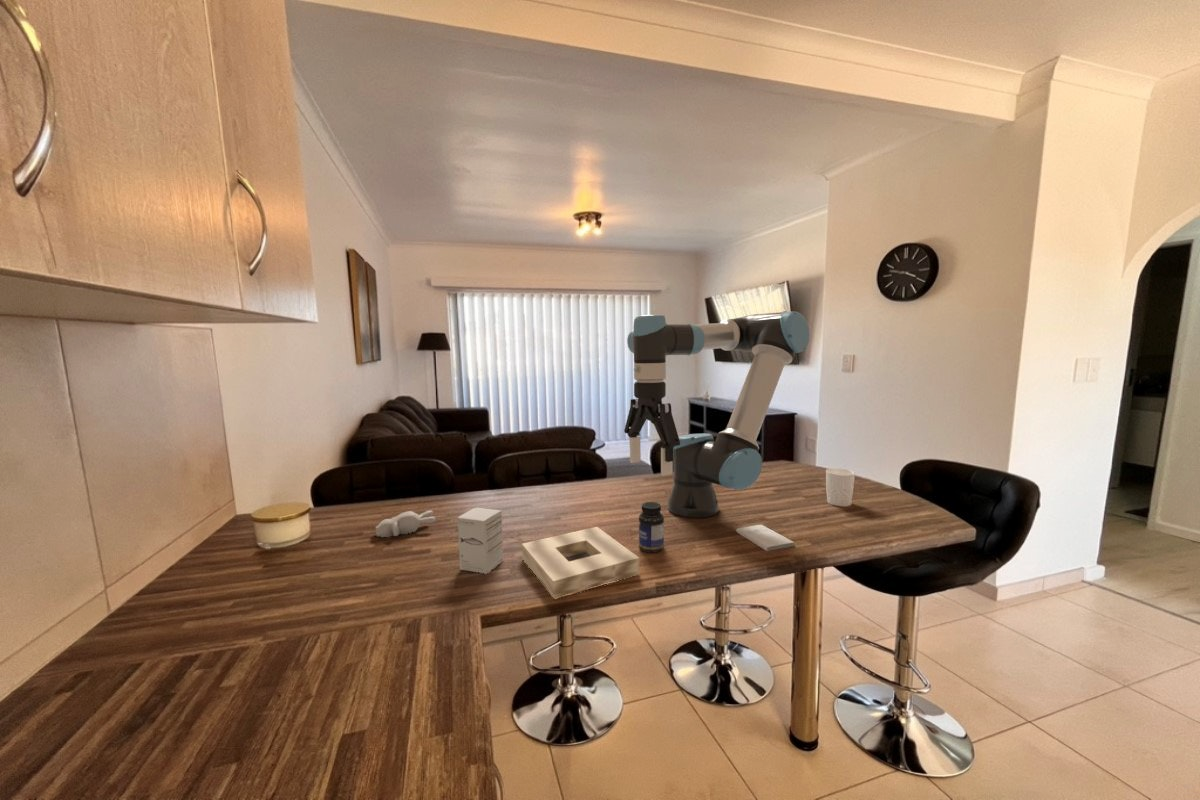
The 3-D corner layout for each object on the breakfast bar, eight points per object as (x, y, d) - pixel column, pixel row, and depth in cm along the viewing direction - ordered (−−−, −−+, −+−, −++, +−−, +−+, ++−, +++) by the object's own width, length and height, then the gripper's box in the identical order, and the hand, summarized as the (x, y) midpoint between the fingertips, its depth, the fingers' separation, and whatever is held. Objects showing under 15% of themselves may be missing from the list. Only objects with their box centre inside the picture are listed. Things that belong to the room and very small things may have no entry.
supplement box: (459, 570, 103) (455, 517, 101) (478, 556, 110) (475, 506, 108) (486, 575, 100) (483, 520, 99) (504, 560, 107) (502, 509, 106)
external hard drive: (766, 553, 109) (736, 533, 121) (794, 548, 112) (761, 529, 124) (766, 547, 109) (736, 528, 121) (794, 541, 112) (762, 523, 123)
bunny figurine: (374, 517, 126) (430, 502, 133) (378, 534, 127) (433, 518, 134) (374, 529, 118) (434, 512, 124) (378, 547, 119) (437, 529, 125)
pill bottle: (634, 545, 114) (634, 502, 113) (655, 540, 116) (655, 499, 115) (646, 555, 108) (646, 510, 107) (668, 550, 111) (668, 506, 109)
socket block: (597, 541, 117) (596, 526, 116) (639, 575, 99) (638, 557, 99) (522, 559, 107) (521, 543, 107) (553, 600, 90) (553, 581, 89)
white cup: (829, 506, 138) (830, 474, 137) (821, 498, 145) (822, 468, 144) (857, 507, 136) (859, 475, 135) (847, 499, 144) (849, 468, 143)
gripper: (610, 379, 117) (611, 459, 119) (668, 385, 95) (668, 483, 97) (635, 377, 120) (636, 456, 123) (696, 383, 98) (695, 478, 101)
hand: (650, 468), depth 110 cm, fingers open, 13 cm apart
